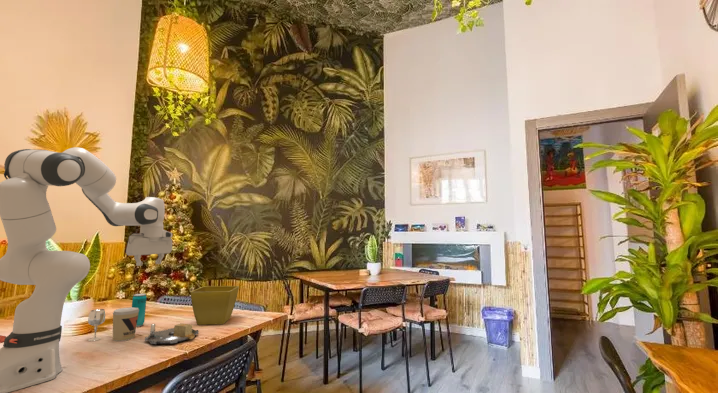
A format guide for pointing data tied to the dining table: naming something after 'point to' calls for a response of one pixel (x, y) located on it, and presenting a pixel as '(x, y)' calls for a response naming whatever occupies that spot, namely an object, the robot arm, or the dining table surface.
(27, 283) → the robot arm
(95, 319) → the wineglass
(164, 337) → the sprocket
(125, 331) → the coffee cup
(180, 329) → the tall wooden block
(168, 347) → the dining table surface
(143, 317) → the beverage can
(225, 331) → the dining table surface
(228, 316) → the flower pot
